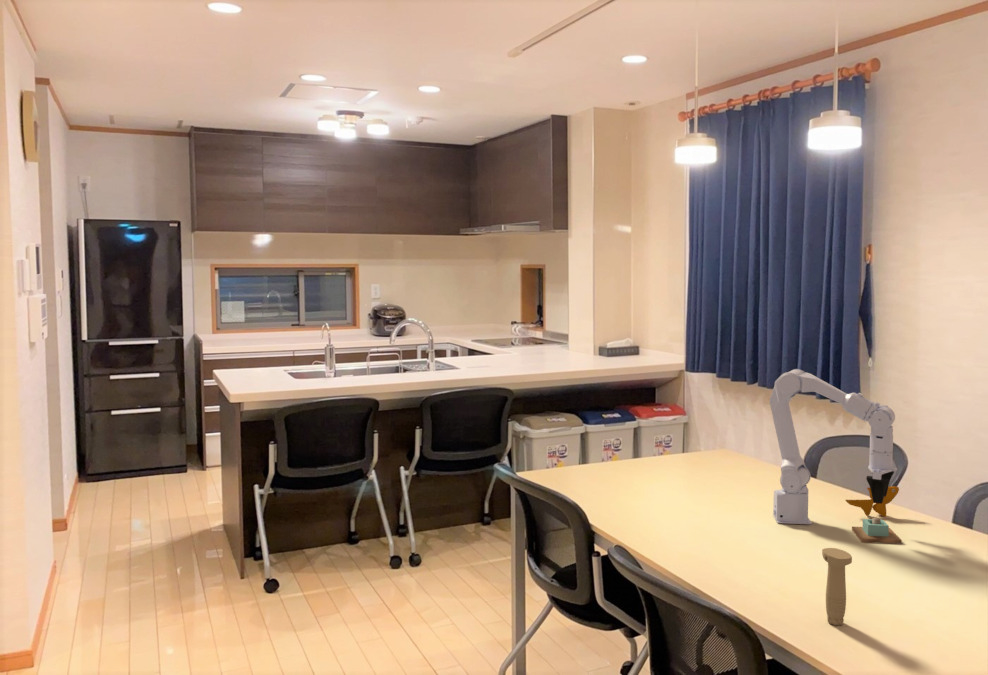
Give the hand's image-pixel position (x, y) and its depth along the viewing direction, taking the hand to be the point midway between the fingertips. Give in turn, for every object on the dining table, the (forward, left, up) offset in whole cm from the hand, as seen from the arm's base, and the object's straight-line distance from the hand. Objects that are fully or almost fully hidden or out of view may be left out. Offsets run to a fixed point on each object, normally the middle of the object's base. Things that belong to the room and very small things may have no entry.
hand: (879, 499), depth 221 cm
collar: (-2, -2, -9) cm, 9 cm away
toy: (+3, +17, -10) cm, 20 cm away
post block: (-1, -2, -10) cm, 10 cm away
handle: (-25, -59, -10) cm, 65 cm away
